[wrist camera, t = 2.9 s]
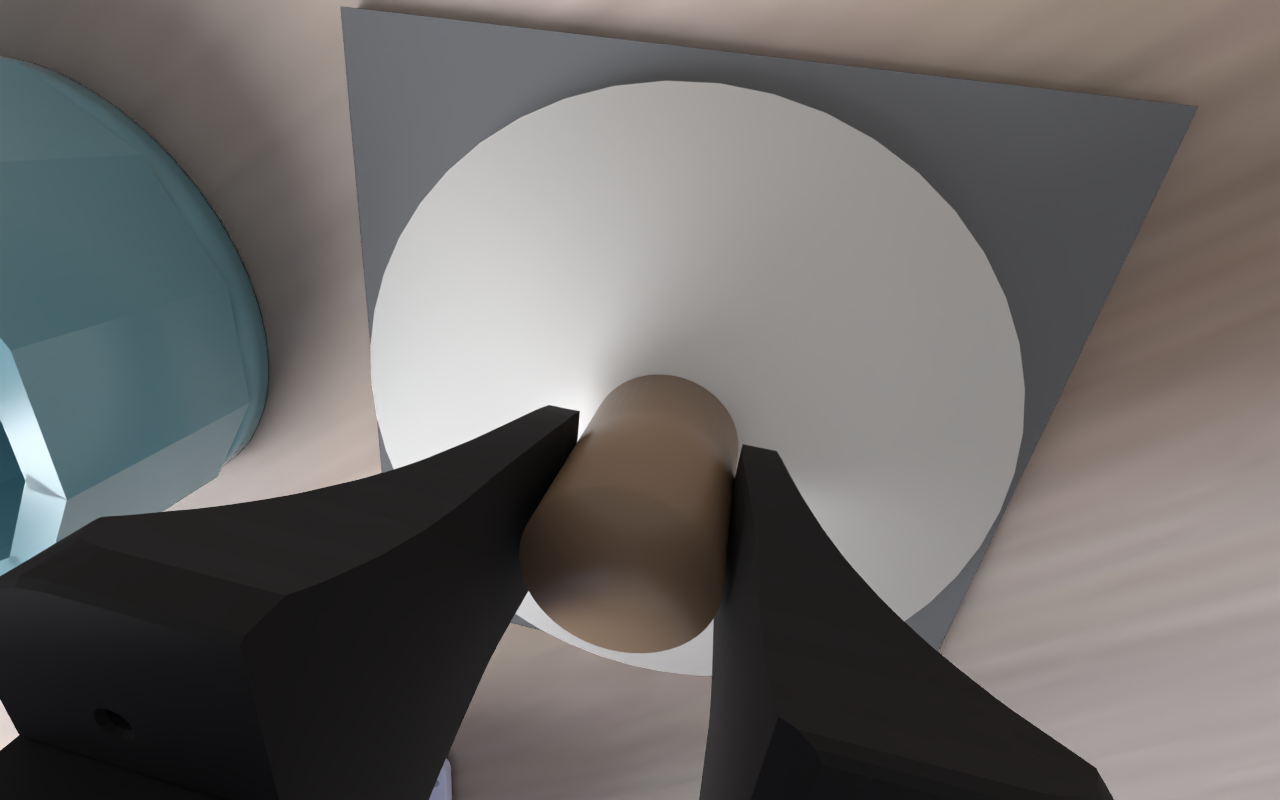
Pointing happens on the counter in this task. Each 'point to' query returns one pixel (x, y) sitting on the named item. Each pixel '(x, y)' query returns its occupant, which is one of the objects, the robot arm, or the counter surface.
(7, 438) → the bowl
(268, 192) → the counter surface
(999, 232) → the mat
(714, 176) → the lid
